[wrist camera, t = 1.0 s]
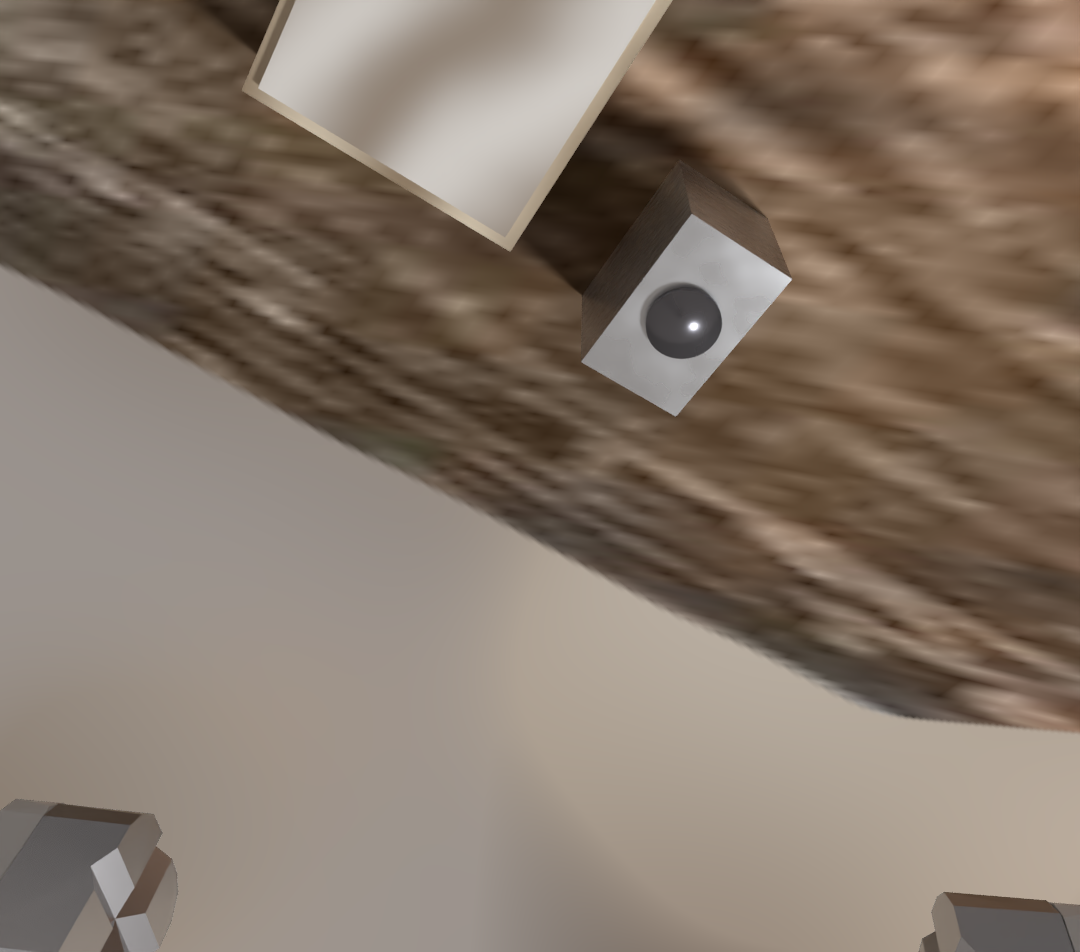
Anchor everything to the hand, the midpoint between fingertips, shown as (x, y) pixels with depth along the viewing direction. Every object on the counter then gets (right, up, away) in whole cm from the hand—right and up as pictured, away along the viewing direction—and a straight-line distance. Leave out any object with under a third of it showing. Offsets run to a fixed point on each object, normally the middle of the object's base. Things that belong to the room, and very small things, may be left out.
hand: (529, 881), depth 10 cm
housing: (+6, +14, +31) cm, 34 cm away
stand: (-2, +22, +25) cm, 33 cm away
